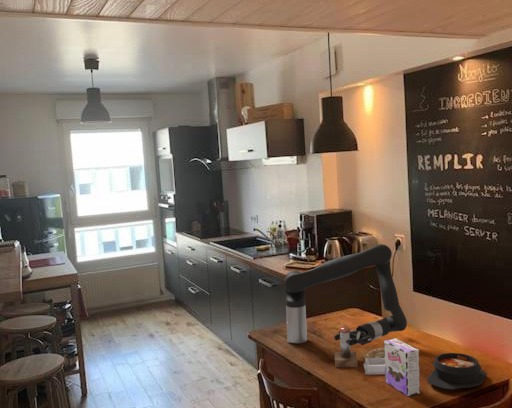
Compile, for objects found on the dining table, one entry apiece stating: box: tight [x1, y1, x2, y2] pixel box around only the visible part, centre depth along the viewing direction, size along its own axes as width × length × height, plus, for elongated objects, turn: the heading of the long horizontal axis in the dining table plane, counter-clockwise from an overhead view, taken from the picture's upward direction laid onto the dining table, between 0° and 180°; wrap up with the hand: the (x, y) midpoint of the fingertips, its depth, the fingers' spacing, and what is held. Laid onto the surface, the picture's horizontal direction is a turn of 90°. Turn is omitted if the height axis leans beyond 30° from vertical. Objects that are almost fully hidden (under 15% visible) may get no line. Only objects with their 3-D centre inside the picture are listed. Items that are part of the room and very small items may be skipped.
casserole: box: [426, 352, 488, 391], centre depth 195 cm, size 25×19×8 cm
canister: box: [339, 325, 351, 358], centre depth 218 cm, size 4×4×12 cm
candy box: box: [383, 338, 421, 397], centre depth 192 cm, size 14×6×16 cm, turn 21°
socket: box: [362, 357, 385, 375], centre depth 210 cm, size 10×10×3 cm
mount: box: [333, 351, 359, 368], centre depth 218 cm, size 9×9×3 cm
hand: (341, 340), depth 217 cm, fingers open, 8 cm apart
